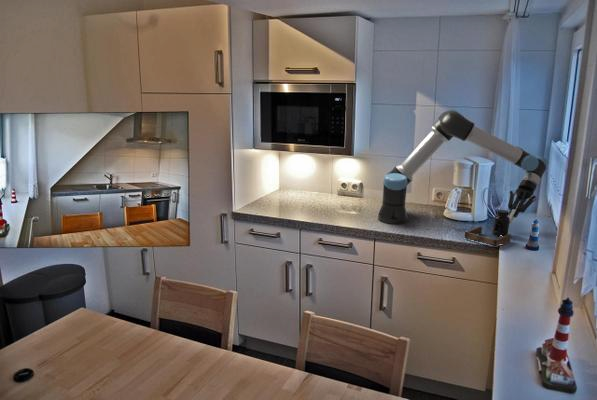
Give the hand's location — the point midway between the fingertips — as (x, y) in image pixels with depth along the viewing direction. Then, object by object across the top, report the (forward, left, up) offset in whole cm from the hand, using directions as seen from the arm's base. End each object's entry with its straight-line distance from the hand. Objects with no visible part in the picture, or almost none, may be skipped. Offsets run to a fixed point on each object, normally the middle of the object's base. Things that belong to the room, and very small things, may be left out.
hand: (509, 221), depth 228 cm
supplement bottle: (0, -8, -5) cm, 10 cm away
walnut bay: (0, -21, -5) cm, 21 cm away
